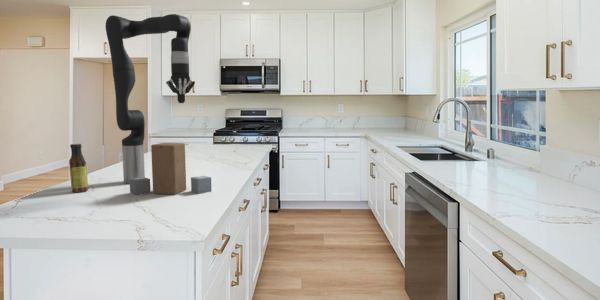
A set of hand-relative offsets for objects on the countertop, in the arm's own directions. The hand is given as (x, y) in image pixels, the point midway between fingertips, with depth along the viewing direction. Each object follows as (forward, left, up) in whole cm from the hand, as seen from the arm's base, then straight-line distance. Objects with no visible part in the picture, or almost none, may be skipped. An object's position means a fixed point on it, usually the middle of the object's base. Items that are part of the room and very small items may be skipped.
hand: (181, 103), depth 186 cm
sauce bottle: (-18, -38, -37) cm, 56 cm away
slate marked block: (+17, -1, -37) cm, 40 cm away
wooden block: (+9, -11, -37) cm, 39 cm away
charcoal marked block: (+3, -21, -37) cm, 42 cm away
